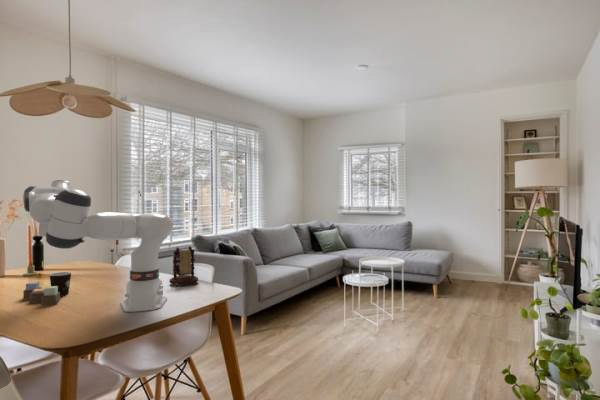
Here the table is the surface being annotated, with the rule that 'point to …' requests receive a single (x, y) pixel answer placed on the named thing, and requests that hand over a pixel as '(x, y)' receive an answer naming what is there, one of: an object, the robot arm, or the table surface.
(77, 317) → the table surface
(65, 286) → the coffee mug
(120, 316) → the table surface
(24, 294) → the slate housing
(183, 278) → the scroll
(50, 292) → the sage cap
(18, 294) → the table surface
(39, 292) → the terracotta cap
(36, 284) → the slate cap
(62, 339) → the table surface
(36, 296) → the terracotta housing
